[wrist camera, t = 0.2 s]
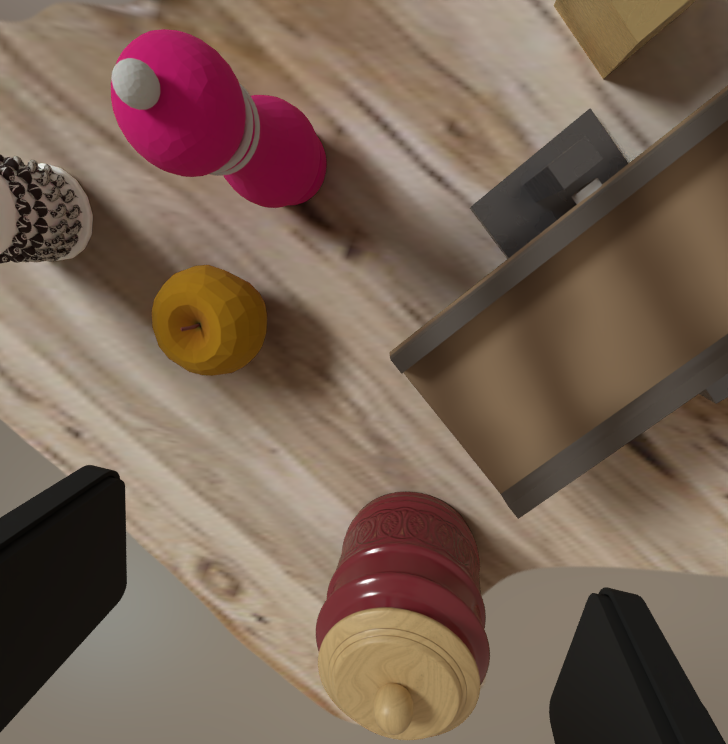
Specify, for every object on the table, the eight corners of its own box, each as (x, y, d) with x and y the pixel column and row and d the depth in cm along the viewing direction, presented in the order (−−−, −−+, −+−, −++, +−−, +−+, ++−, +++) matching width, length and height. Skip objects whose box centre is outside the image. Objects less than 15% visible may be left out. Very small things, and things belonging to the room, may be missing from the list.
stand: (585, 112, 32) (639, 62, 23) (735, 329, 34) (836, 359, 25) (469, 208, 35) (478, 195, 26) (614, 402, 37) (666, 451, 28)
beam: (802, 11, 25) (928, -74, 19) (916, 199, 26) (1065, 173, 21) (384, 344, 29) (385, 356, 23) (502, 492, 30) (531, 537, 25)
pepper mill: (350, 152, 35) (242, 45, 16) (301, 229, 37) (155, 214, 19) (277, 95, 35) (82, -82, 16) (232, 176, 37) (14, 105, 18)
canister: (412, 462, 42) (391, 608, 25) (506, 554, 43) (547, 755, 26) (321, 537, 46) (251, 705, 29) (409, 620, 47) (390, 829, 30)
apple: (287, 266, 39) (242, 271, 30) (286, 364, 41) (245, 396, 33) (191, 259, 40) (122, 263, 31) (196, 355, 42) (133, 383, 34)
